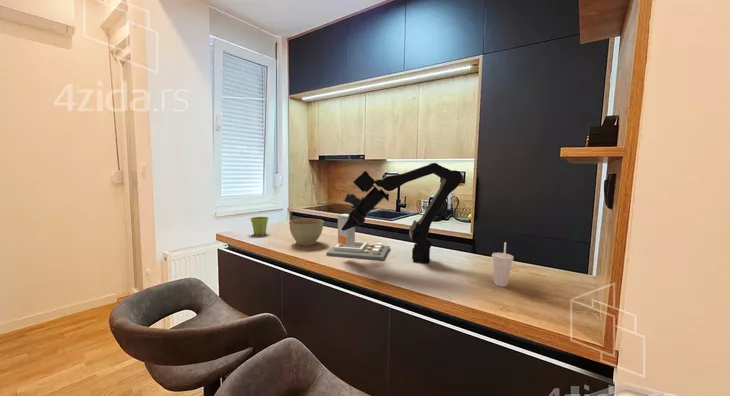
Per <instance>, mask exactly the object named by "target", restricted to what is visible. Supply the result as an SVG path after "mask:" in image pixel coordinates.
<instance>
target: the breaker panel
mask: <svg viewBox="0 0 730 396" xmlns="http://www.w3.org/2000/svg"><path fill="white" fill-rule="evenodd" d="M389 250H390V245H384V243H383V242H377V243H376V244H372V243H368V242H367V241H356V240H355V245H353V246H348V247H346V246H344V245H341V244H338V243H337V244H336V245H334V246H333V247H331V248H330V249H329V250H328V251H326V255H325V256H327V257H328V256H329V257H341V258H342V257H343V258H354V259H363V260H364V259H365V260H372V261H373V260H375V261H384V259H385V258H386V256H387V254H388V252H389Z"/></svg>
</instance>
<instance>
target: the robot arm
mask: <svg viewBox="0 0 730 396" xmlns="http://www.w3.org/2000/svg"><path fill="white" fill-rule="evenodd" d="M429 175H435V176H437V177H438V178H440V179H441V181H440V185H439V188H438V190H437V192H436V194H435V195H434V196H433V198H432V200H431V202H430V203H429V205H428V206H427V208H426V210H425V211H424V213H423V215H422V216H421V218H420V219H419V220H418V221H416V220H413V222H412V224H411V225H410V227H409V231H408V233H409V234H408V235H409V237H410V239H411V240H412V241H413V242H414V245H413V247H412V251H411V253H412V254H411V260H412V262H413V263H421V264H422V263H424V264H430V262H431V259H430V258H431V257H430V256H431V248H432V245H433V243H432V242H431V241H430V239H428V235H429V233H430V227H431V225H432V222H433V221H434V219H435V218H436V216H437V215H438V213H439V211H440V210H441V208H442V207H443V205H444V203H445V201H446V200H447V199H448V197H449V195H450V194H451V193H452V192H454V191H455V190H456V189H457V188H458V187H459V185H460V184H462V181H463V174H462V173H461V172H460V171H459V170H456V169H455V170H451V169H449V168H447V167H445V166H443V165H440V164H439V163H437V162H430V163H429V164H427V165H424V166H420V167H419V168H415V169H412V170H409V171H406V172H403V173H399V174H398V173H397V174H391V175H386V176H383V178H381V179H374V178H373V177H372V176H371V175H370V174H369V172H367V171H366V170H364V171H363V172H362V173H361V174H360V175H359V176H357V178H355V180H353V181H352V183H353V184H354V185H355V186H356V188H358V189H359V191H361V193H364V192H366V193H367V194H366V195H365V196H362V197H361V198H359V197H358V196H357V195H356V194H353V193H349V192H347V194H346V195H345V198H344V200H343V201H344V202H346V203H349V204H350V205H352V206H351V208H350V209H349V213H348V214H349V219H348V220H347V222H346V223H345V224H344V226H343V227H342V230H343V231H345V230H347V229H350V228H352V227H355V228H356V227H357V226H360V225H363V224H364V223H365V222H366V217H367V216H368V214H369V213H370V212H371V211H374V209H375V207H376V206H377V205H378V204H380V202H381V201H383V200H384V199H385V200H386V201H387V202H389V201H390V198H389V197H390V193H386V192H392V191H394V190H396V189H398V188H400V187H401V186H404V185H405V184H407V183H409V182H411V181H412V182H413V181H414V180H418V179H421V178H424V177H427V176H429ZM374 184H375V185H374ZM377 187H380V189H378V188H377ZM385 191H386V192H385Z"/></svg>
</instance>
